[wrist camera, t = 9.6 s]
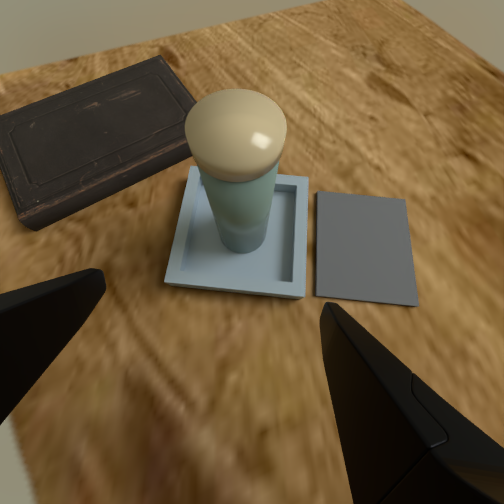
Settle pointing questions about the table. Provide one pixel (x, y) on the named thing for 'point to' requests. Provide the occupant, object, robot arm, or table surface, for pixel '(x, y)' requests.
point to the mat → (364, 249)
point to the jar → (237, 161)
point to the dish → (242, 264)
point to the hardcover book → (93, 141)
